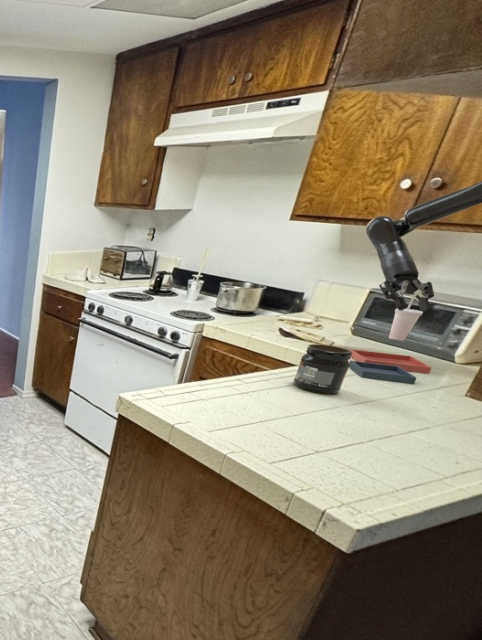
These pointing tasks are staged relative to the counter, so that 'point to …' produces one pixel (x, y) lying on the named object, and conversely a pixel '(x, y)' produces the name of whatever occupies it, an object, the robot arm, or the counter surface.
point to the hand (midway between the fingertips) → (414, 309)
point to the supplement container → (323, 368)
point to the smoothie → (404, 322)
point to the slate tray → (382, 372)
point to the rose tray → (391, 360)
